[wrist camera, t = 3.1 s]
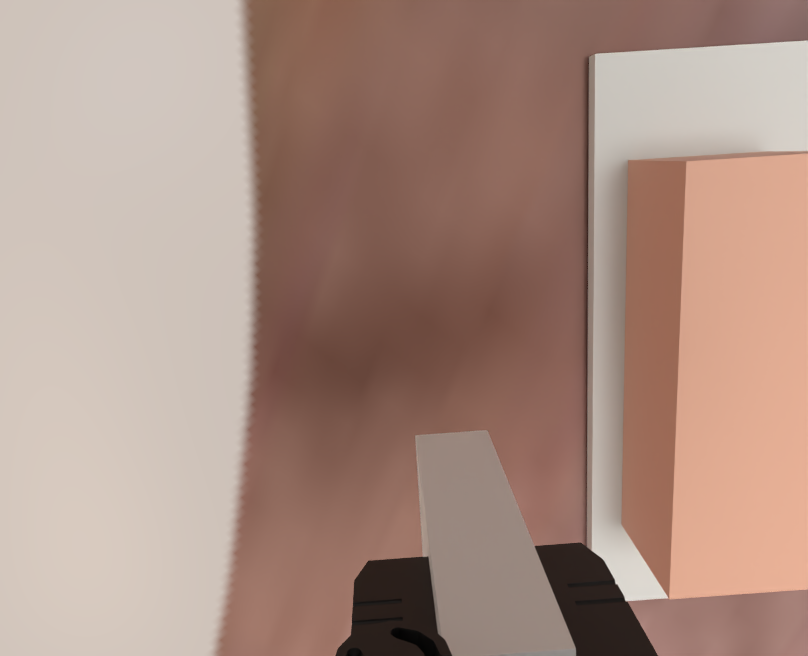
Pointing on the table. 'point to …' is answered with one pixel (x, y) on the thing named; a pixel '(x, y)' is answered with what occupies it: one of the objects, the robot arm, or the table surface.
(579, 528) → the table surface
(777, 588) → the tee
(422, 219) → the table surface
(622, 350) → the mat
